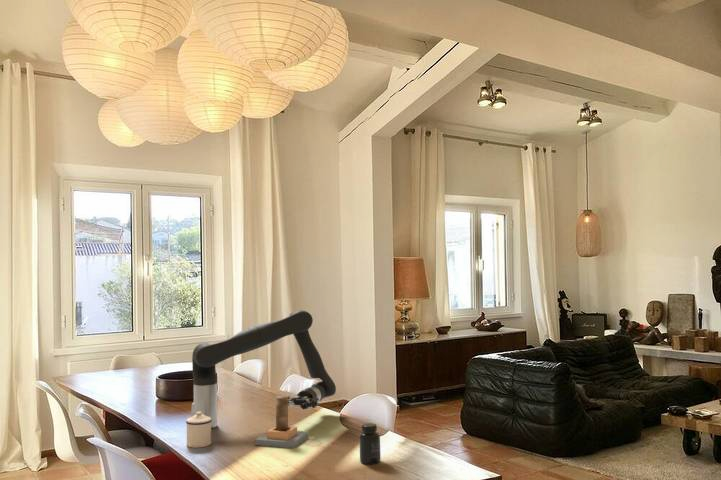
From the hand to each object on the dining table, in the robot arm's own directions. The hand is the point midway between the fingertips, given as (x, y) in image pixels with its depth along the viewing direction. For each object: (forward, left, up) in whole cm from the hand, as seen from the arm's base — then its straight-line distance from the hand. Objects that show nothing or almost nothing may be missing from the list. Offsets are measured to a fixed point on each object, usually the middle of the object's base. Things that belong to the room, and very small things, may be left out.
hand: (292, 406), depth 237 cm
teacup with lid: (-29, -21, -11) cm, 37 cm away
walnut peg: (0, -10, -9) cm, 13 cm away
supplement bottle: (+38, -24, -11) cm, 46 cm away
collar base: (0, -10, -11) cm, 14 cm away
